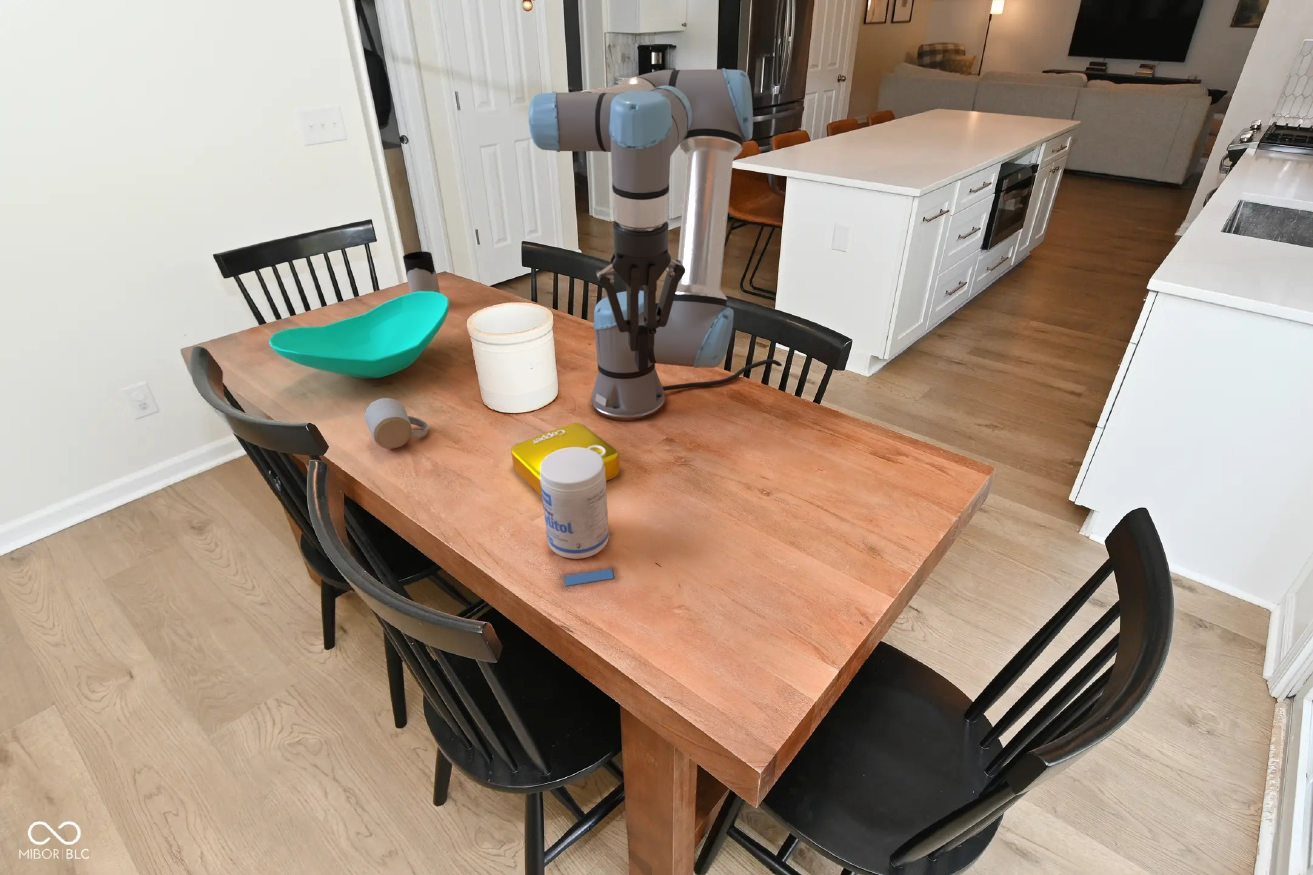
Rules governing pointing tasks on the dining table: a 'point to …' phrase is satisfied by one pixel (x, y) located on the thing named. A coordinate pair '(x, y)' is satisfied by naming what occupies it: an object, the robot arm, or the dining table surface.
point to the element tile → (572, 435)
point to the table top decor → (368, 338)
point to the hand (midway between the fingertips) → (641, 365)
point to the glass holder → (421, 272)
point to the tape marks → (589, 577)
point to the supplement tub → (575, 502)
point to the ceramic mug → (392, 423)
